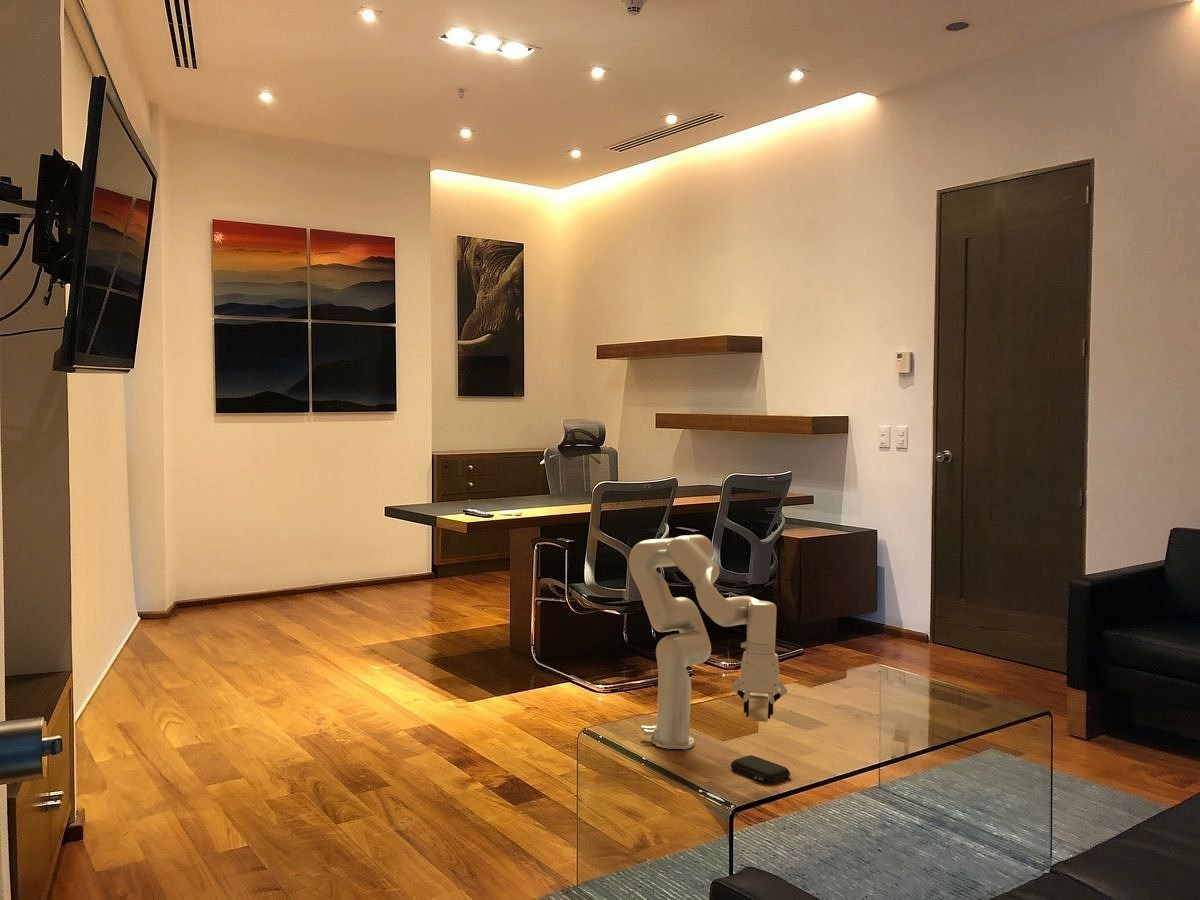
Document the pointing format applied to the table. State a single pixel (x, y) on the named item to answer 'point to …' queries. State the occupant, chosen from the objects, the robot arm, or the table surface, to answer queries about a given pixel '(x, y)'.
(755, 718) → the birch block
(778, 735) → the table surface
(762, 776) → the carrying case or bag
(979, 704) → the table surface
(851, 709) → the table surface
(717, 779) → the table surface
